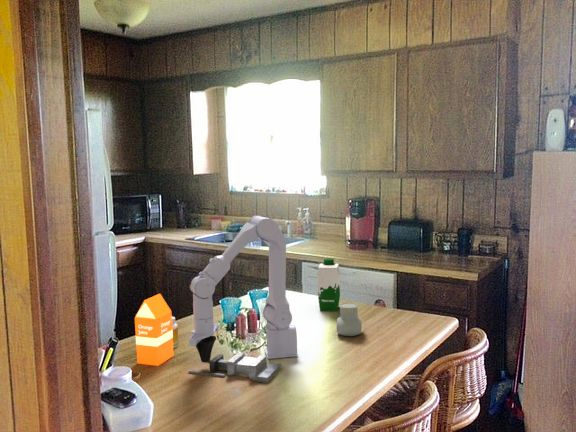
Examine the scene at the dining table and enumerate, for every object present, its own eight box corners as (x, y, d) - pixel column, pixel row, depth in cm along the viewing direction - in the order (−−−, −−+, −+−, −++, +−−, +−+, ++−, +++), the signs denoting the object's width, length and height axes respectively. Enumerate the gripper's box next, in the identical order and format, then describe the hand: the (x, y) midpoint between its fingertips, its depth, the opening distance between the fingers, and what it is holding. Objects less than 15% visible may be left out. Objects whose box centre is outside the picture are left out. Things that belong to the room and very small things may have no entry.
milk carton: (340, 305, 222) (340, 258, 219) (339, 312, 213) (338, 262, 211) (319, 305, 223) (318, 258, 221) (317, 311, 214) (316, 262, 212)
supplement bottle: (180, 343, 182) (178, 315, 181) (177, 348, 176) (175, 320, 175) (164, 343, 182) (162, 315, 181) (160, 349, 176) (159, 320, 175)
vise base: (280, 369, 157) (280, 356, 156) (267, 382, 147) (267, 368, 147) (205, 360, 165) (204, 347, 165) (188, 372, 156) (187, 359, 156)
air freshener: (338, 328, 192) (337, 301, 191) (361, 329, 191) (361, 301, 190) (336, 338, 182) (335, 310, 181) (360, 339, 180) (360, 310, 179)
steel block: (259, 369, 158) (259, 358, 157) (251, 377, 152) (251, 365, 152) (244, 367, 159) (244, 356, 159) (235, 375, 154) (235, 363, 153)
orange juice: (136, 363, 165) (132, 299, 163) (153, 353, 173) (149, 292, 171) (158, 365, 162) (155, 301, 160) (174, 355, 170) (171, 294, 168)
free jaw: (244, 366, 159) (243, 353, 159) (233, 375, 153) (233, 362, 152) (220, 363, 162) (219, 351, 161) (208, 372, 155) (208, 359, 155)
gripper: (203, 309, 166) (205, 351, 168) (178, 323, 153) (181, 369, 154) (224, 310, 164) (225, 353, 165) (200, 325, 150) (202, 371, 152)
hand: (205, 361), depth 159 cm, fingers closed
